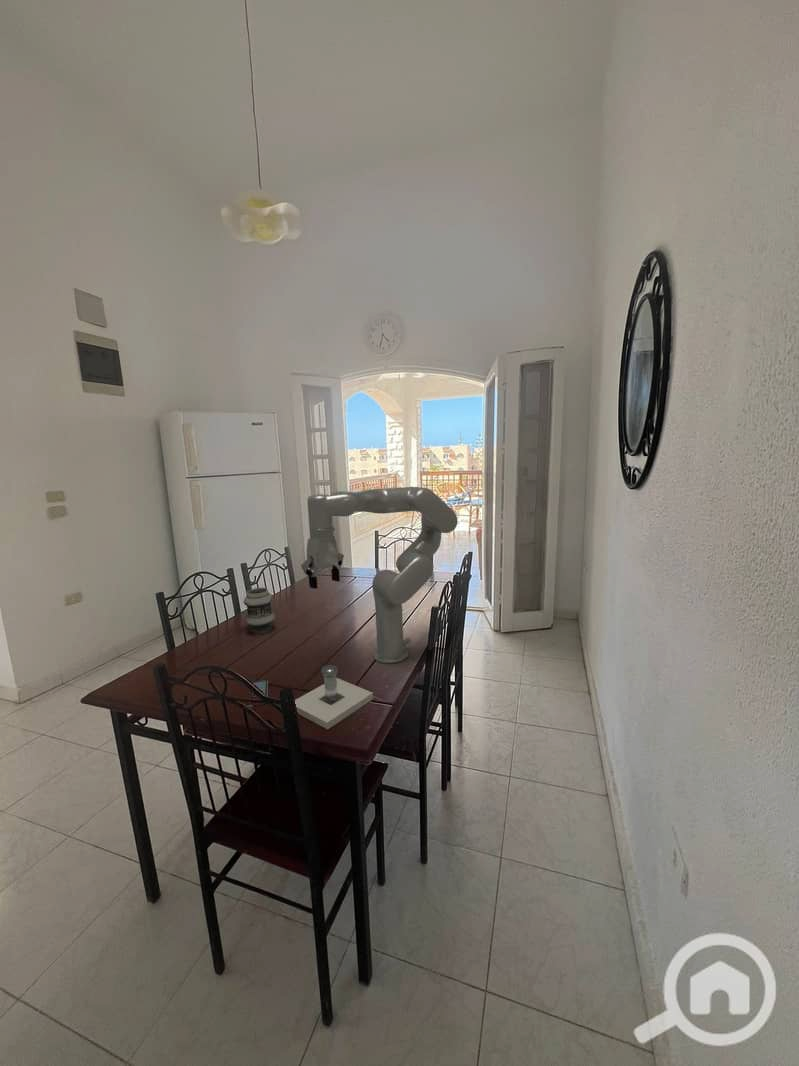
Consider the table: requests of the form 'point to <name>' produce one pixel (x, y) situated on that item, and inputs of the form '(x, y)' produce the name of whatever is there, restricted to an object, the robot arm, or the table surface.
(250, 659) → the table surface
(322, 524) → the robot arm
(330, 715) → the socket plate
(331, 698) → the peg
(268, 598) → the apothecary jar
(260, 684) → the smartphone
